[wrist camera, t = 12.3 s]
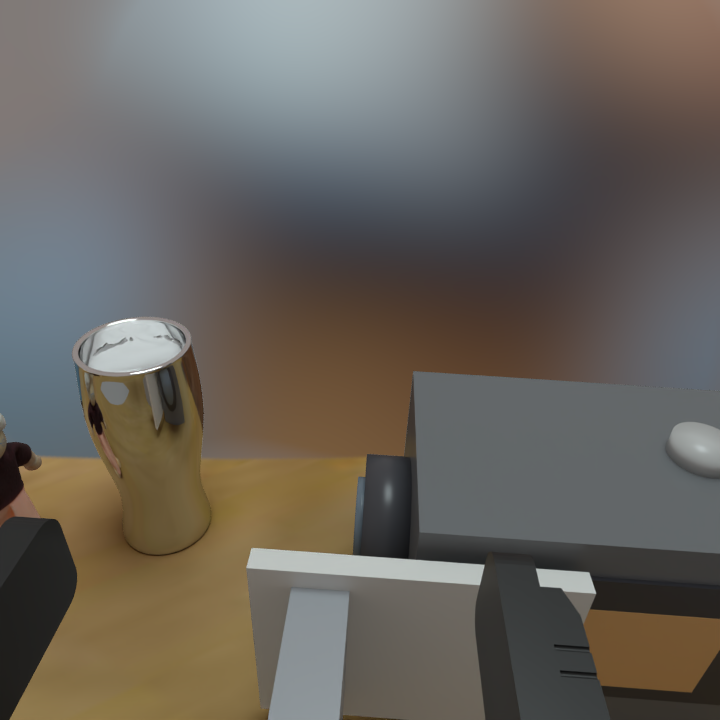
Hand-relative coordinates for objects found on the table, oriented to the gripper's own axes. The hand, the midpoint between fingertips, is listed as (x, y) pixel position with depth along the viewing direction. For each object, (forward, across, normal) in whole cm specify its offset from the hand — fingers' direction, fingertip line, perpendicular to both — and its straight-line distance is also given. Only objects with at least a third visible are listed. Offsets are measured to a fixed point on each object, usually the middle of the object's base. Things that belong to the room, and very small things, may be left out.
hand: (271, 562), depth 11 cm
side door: (+5, -4, +22) cm, 23 cm away
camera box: (+15, -12, +24) cm, 30 cm away
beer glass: (+21, +12, +24) cm, 34 cm away
